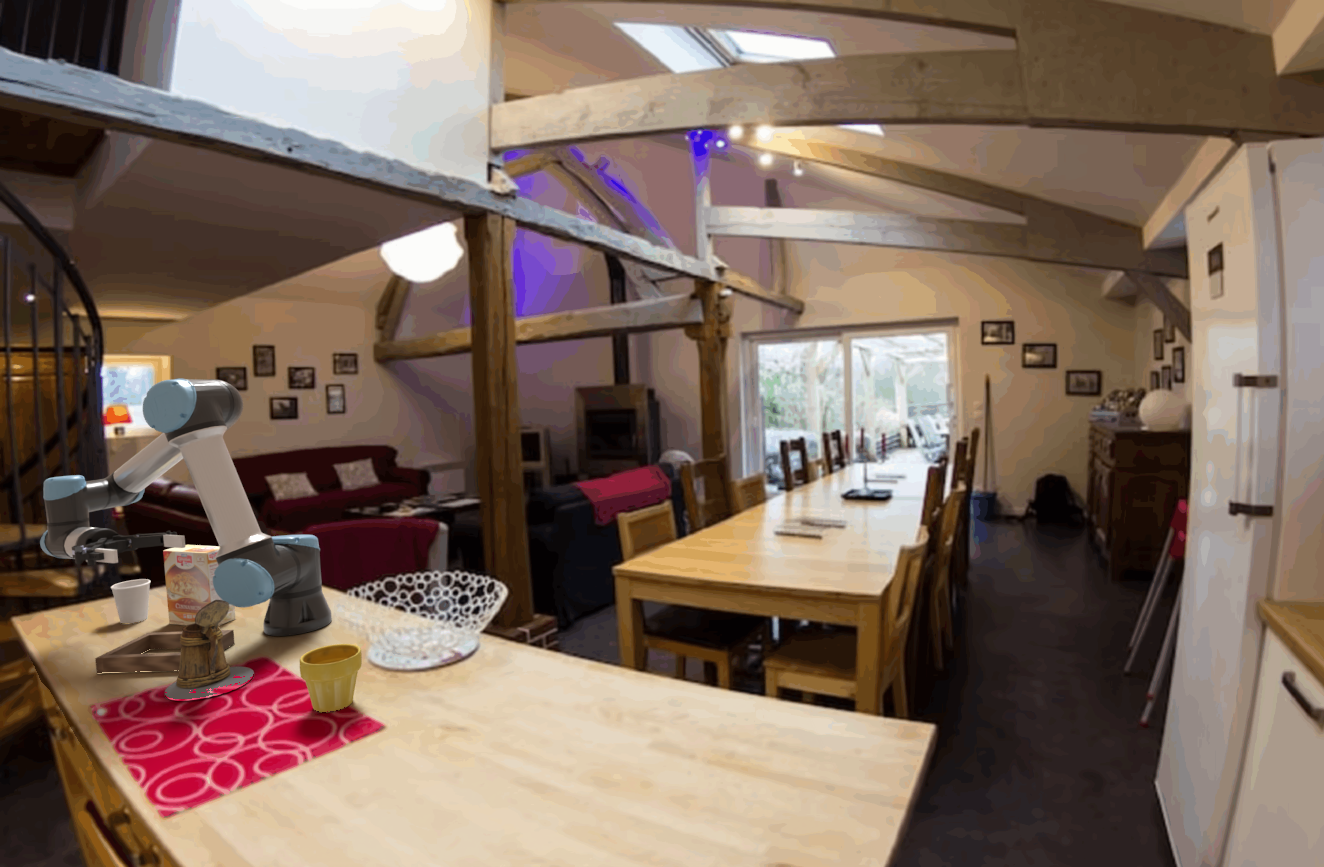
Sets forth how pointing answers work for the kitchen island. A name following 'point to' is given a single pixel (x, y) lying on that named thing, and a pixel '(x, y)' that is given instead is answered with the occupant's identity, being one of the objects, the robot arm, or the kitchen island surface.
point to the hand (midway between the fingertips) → (151, 548)
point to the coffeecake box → (191, 582)
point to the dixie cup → (132, 600)
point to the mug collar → (133, 660)
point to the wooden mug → (203, 648)
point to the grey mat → (184, 693)
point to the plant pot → (331, 675)
